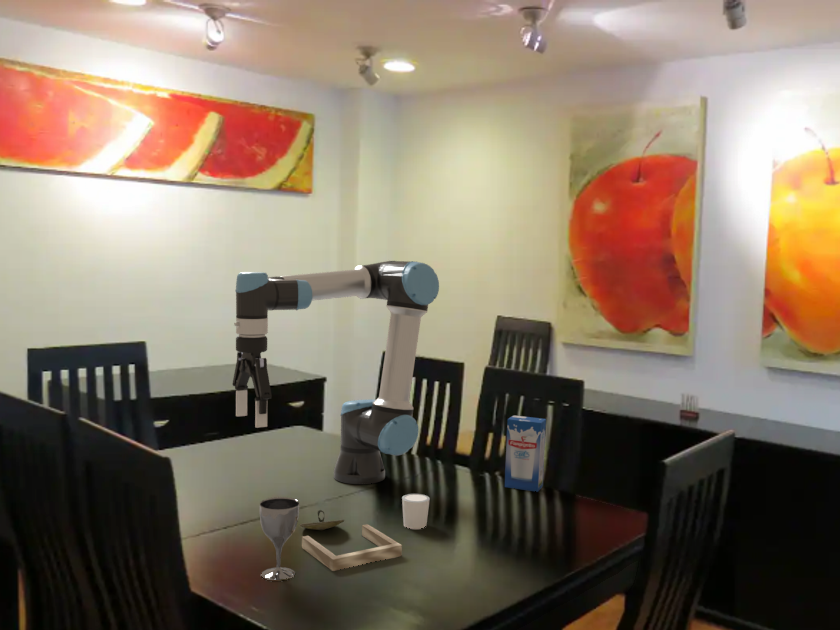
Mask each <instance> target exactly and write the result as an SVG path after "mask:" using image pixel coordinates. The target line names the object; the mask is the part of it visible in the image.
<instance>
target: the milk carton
mask: <svg viewBox="0 0 840 630" xmlns="http://www.w3.org/2000/svg"><path fill="white" fill-rule="evenodd" d="M506 426H507V427H506V445H505V446H506V448H505V449H506V450H505V451H506V452H505V469H504V488H508V489H514V488H515V490H516V489H517V490H522V491H530V492H535V491H536V493H538V492H539V491H540V490H541V489H542V488H543V487H544V471H545V470H544V469H545V468H544V467H545V449H546V429H547V428H546V426H547V419H546V418H541V417H540V418H539V417H532V416H531V417H530V416H523V415H521V416H520V415H512V416H510V417H509V418H507V425H506Z"/></svg>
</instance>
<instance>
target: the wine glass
mask: <svg viewBox="0 0 840 630" xmlns="http://www.w3.org/2000/svg"><path fill="white" fill-rule="evenodd" d="M299 517H300V502H299V500H298V499H296V498H292V497H288V496H287V497H284V496H278V497H270V498H269V497H268V498H266V499H263V500H262V501H260V502H259V519H260V525H261V529H262V531H263V533H264V535H265V536H266V537H267V538H268V539H269V540H270V541H271V543H272V544H273V546H274V548H275V554H276V555H275V556H276V565H275V566H276V567H271V568H267V569H265V570H263V571H262V572H261V573H262V574H261V573H260V577H261V576H262V577H263V578H265V579H267V580H281V579H286V578H287V579H288V578H292V577H293V578H295V577H294V575H295V573H296V571H295V570H294V569H293V568H288V567H281V559H282V557H281V556H282V550H283V547H284V545H285V543H286V542H287V541H288V539H289V538H290V537H291V536H292V535H293V534H294V532H295V531H296V529H297V525H298V523H299ZM295 576H296V575H295ZM263 578H262V579H263ZM293 578H292V579H293ZM267 580H266V581H267Z"/></svg>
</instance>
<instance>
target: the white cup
mask: <svg viewBox="0 0 840 630" xmlns="http://www.w3.org/2000/svg"><path fill="white" fill-rule="evenodd" d="M401 499H402V500H401V502H402V504H401V506H402V517H403V518H402V521H403V527H404V528H406V527H407V529H409V528H410V530H422V529H421V528H423V529H425V528H426V527H427V524H428V523H427V522H428V515H429V507H430V499H431V498H430V497H429V496H428V495H427V494H426V495H425V494H422V493H408V494H405V495H403V496H402V497H401ZM425 526H426V527H425ZM424 527H425V528H424Z"/></svg>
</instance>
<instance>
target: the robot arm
mask: <svg viewBox="0 0 840 630" xmlns="http://www.w3.org/2000/svg"><path fill="white" fill-rule="evenodd" d="M268 275H269V274H267V272H263V271H241V272H239V273H238V274H237V275H236V282H235V285H236V286H235V297H236V298H235V300H236V301H235V307H236V308H235V310H236V311H235V320H236V321H235V322H234V325H233V326H234V327H235V333H236V334H237V336H236V337H235V351H236V352H237V353H236V363H235V368H234V369H235V370H234V374H233V380H232V387H234V389H235V390H236V391H235V417H245V416H248V389H249V386H248V383H249V381H250V378H251V380H252V384H253V388H254V391H255V395H256V397H255V398H254V402H255V405H254V406H255V414H254V415H255V416H254V417H255V420H254V425H255V426H254V427H255V428H257V429H258V428H267V427H268V401H269V399H272V397H273V396H272V395H273V394H272V389H271V384H270V383H271V382H270V378H269V373H268V372H269V371H268V365H267V363H268V359H267V358H266V357H263V358H262V353H265V352H267V351H268V337H267V336H266V335H267V334H268V333H269V332H268V331H269V330H268V329H269V327H268V325H269V320H268V319H269V318H268V313H269V311H287V310H289V311H298V310H305V309H308V308H309V307H310V305H311V304H312V301H321V300H331V299H341V298H348V297H357V298H359V299H360V300H361V299H362V300H363V299H376V300H384V301H386V308H387V309H388V310H389V312H390V316H389V317H390V319H389V326H388V333H387V338H386V339H387V340H386V345H385V353H384V359H383V366H382V367H383V368H382V372H381V379H380V388H379V394H378V397H377V398H376V399H357V400H355V399H354V400H348V401H345V402H344V403H342V405H341V411H340V446H339V447H340V451H339V454H338V457H337V459H336V463H335V465H334V469H333V479H334V480H335V481H338V482H341V483H344V484H350V485H370V484H371V483H372V484H377V483H380V482H382V481H384V480H385V478H386V469H385V465H384V463H383V459H382V456H381V453H383V454H386V455H392V456H401V455H404V454H405V453H408V452H409V451H410V449H412V448H413V446H414V445H415V444H416V442H417V439H418V437H419V432H420V431H419V425H418V423H417V420H416V419H415V418H414V417H413V413H414V406H413V405H412V404H411V403H410V402H411V401H410V396H411V390H412V382H413V376H414V369H415V362H416V361H415V360H416V355H417V350H418V349H417V348H418V340H419V335H420V334H419V333H420V327H421V319H422V317H423V316H424V315H426V314H427V313H428V308H429V305H430V304H431V303H433V302H434V300H436V299H437V297H438V295H439V290H440V283H439V282H440V281H439V278H438V275H437V272H435V270H434V269H433V267H431V266H430V265H429V264H428V263H425V262H419V261H409V260H407V261H402V260H401V261H399V260H398V261H397V260H385V261H381V262H376V263H370V264H363V265H357V266H355V267H354V269H347V270H337V271H336V270H335V271H324V272H323V271H322V272H313V273H311V272H310V273H302V274H289V275H280V276H268ZM372 484H371V485H372Z"/></svg>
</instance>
